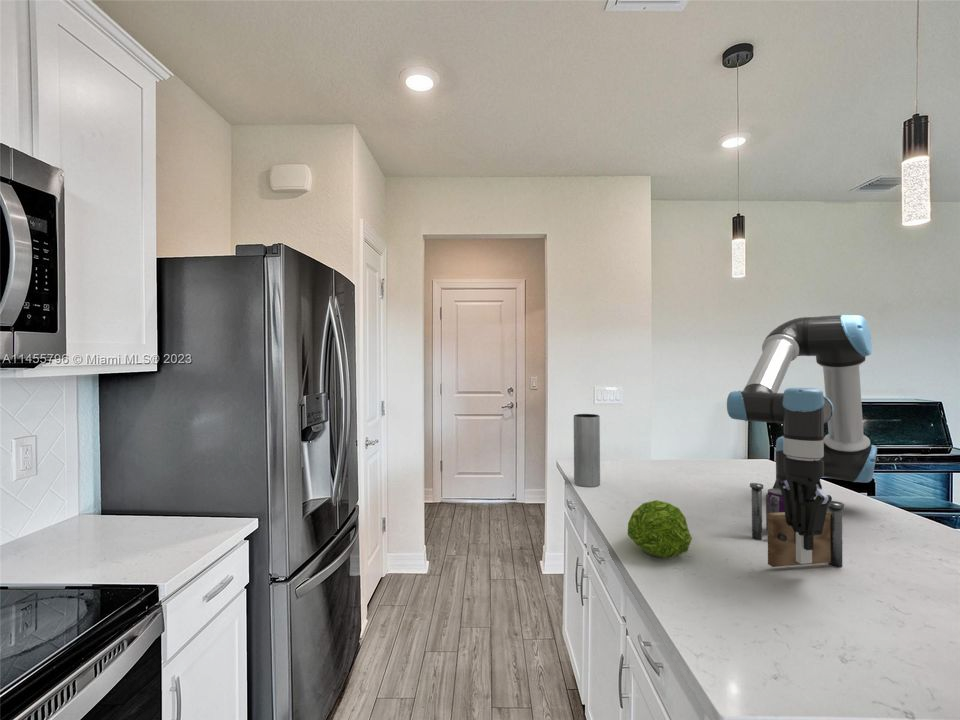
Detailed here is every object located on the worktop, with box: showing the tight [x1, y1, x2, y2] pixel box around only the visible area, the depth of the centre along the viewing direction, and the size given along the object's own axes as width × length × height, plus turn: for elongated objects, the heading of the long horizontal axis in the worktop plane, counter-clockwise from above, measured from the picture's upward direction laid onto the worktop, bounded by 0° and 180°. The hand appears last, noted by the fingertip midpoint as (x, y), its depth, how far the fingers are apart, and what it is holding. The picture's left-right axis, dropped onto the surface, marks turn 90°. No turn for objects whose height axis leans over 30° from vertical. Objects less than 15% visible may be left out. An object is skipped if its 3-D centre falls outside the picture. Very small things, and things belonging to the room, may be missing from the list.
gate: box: [767, 510, 831, 568], centre depth 113 cm, size 15×3×12 cm, turn 98°
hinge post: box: [827, 500, 845, 568], centre depth 115 cm, size 4×4×15 cm
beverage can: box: [765, 487, 785, 532], centre depth 135 cm, size 7×7×12 cm
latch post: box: [749, 482, 764, 541], centre depth 132 cm, size 3×3×15 cm
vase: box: [573, 413, 601, 488], centre depth 190 cm, size 10×10×27 cm
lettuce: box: [627, 499, 692, 559], centre depth 127 cm, size 15×24×14 cm, turn 156°
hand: (803, 562), depth 108 cm, fingers closed
